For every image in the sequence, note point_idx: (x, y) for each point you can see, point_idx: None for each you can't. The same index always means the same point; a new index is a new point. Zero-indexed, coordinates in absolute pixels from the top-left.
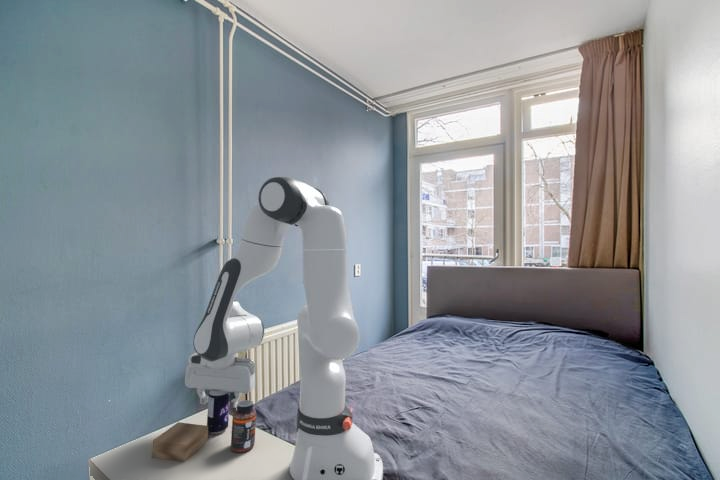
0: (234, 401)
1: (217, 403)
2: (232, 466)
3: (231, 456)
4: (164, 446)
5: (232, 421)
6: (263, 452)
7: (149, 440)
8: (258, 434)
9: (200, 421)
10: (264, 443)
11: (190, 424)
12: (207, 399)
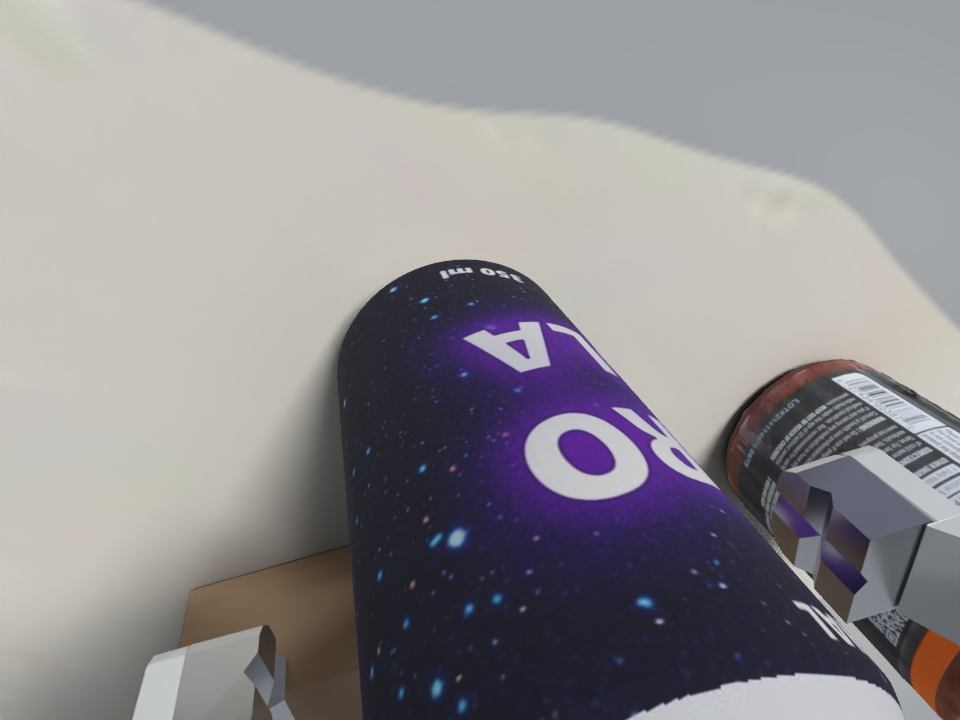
0: (921, 604)
1: None
2: (803, 570)
3: (762, 525)
4: None
5: (905, 679)
6: (948, 409)
7: (17, 710)
8: (870, 237)
9: (71, 299)
10: (941, 325)
11: (339, 686)
12: (255, 675)
